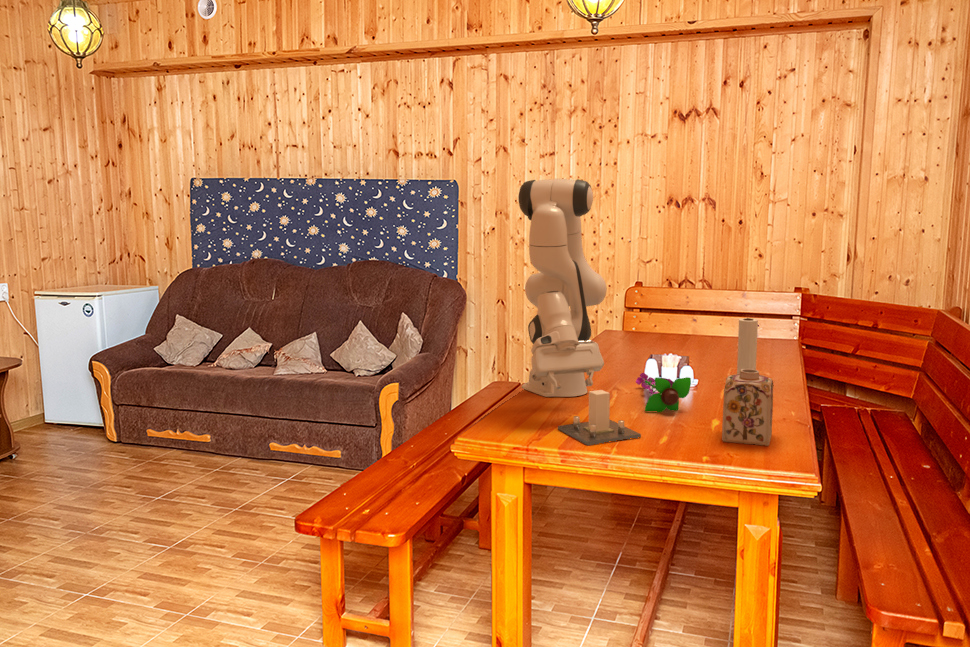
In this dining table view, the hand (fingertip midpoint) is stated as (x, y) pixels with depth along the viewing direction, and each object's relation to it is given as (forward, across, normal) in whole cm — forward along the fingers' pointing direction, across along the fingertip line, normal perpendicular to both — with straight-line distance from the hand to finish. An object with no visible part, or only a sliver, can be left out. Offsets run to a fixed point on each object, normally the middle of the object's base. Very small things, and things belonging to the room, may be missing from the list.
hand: (573, 387), depth 222 cm
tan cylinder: (-9, -75, -32) cm, 83 cm away
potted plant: (-2, -34, -22) cm, 41 cm away
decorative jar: (+24, -38, +12) cm, 47 cm away
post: (+13, -4, +1) cm, 14 cm away
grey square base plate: (+14, -4, 0) cm, 14 cm away
